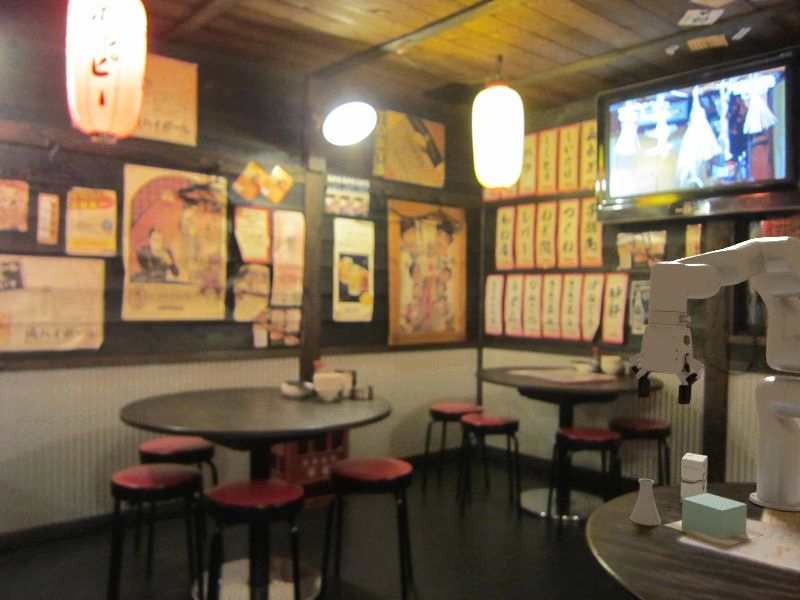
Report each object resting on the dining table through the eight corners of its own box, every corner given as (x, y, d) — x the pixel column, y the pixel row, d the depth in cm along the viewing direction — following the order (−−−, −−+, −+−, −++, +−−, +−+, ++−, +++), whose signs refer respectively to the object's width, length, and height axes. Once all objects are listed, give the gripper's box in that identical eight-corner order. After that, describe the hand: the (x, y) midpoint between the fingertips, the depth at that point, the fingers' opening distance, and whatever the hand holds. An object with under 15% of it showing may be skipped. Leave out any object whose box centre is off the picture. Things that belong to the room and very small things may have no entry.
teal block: (706, 519, 146) (706, 492, 146) (746, 532, 139) (746, 504, 139) (681, 526, 141) (682, 498, 141) (721, 540, 134) (722, 510, 134)
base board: (702, 520, 150) (702, 514, 150) (764, 540, 138) (764, 534, 138) (663, 530, 142) (664, 524, 142) (726, 552, 130) (726, 546, 130)
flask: (665, 533, 140) (667, 486, 140) (630, 529, 142) (631, 483, 142) (659, 521, 148) (660, 477, 148) (625, 518, 149) (626, 474, 149)
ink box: (701, 511, 156) (703, 461, 156) (679, 507, 159) (680, 458, 159) (706, 502, 163) (708, 455, 163) (685, 498, 166) (686, 452, 166)
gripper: (715, 322, 135) (711, 406, 135) (643, 319, 150) (639, 394, 149) (694, 321, 131) (690, 407, 131) (621, 318, 145) (618, 395, 145)
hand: (663, 400), depth 140 cm, fingers open, 9 cm apart
